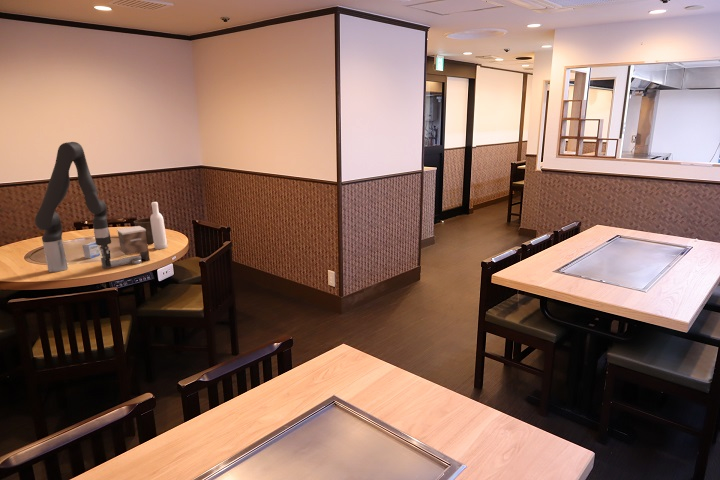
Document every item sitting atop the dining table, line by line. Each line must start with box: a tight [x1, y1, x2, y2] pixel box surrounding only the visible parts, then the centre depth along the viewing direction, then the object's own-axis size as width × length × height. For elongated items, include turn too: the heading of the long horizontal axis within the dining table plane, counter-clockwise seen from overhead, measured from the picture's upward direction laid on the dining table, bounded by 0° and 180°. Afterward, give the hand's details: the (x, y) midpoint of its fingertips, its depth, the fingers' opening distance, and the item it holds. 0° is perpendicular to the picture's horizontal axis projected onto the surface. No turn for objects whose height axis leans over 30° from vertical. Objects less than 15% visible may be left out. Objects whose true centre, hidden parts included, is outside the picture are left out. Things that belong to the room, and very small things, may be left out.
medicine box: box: [82, 241, 101, 259], centre depth 289 cm, size 8×4×9 cm, turn 168°
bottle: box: [149, 201, 168, 250], centre depth 301 cm, size 8×8×30 cm
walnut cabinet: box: [116, 225, 151, 262], centre depth 275 cm, size 13×14×19 cm
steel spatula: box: [100, 254, 143, 270], centre depth 270 cm, size 20×3×6 cm, turn 130°
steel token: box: [131, 258, 143, 266], centre depth 272 cm, size 5×5×2 cm
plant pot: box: [133, 217, 154, 245], centre depth 316 cm, size 15×15×16 cm
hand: (107, 265), depth 266 cm, fingers closed on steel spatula, 3 cm apart
